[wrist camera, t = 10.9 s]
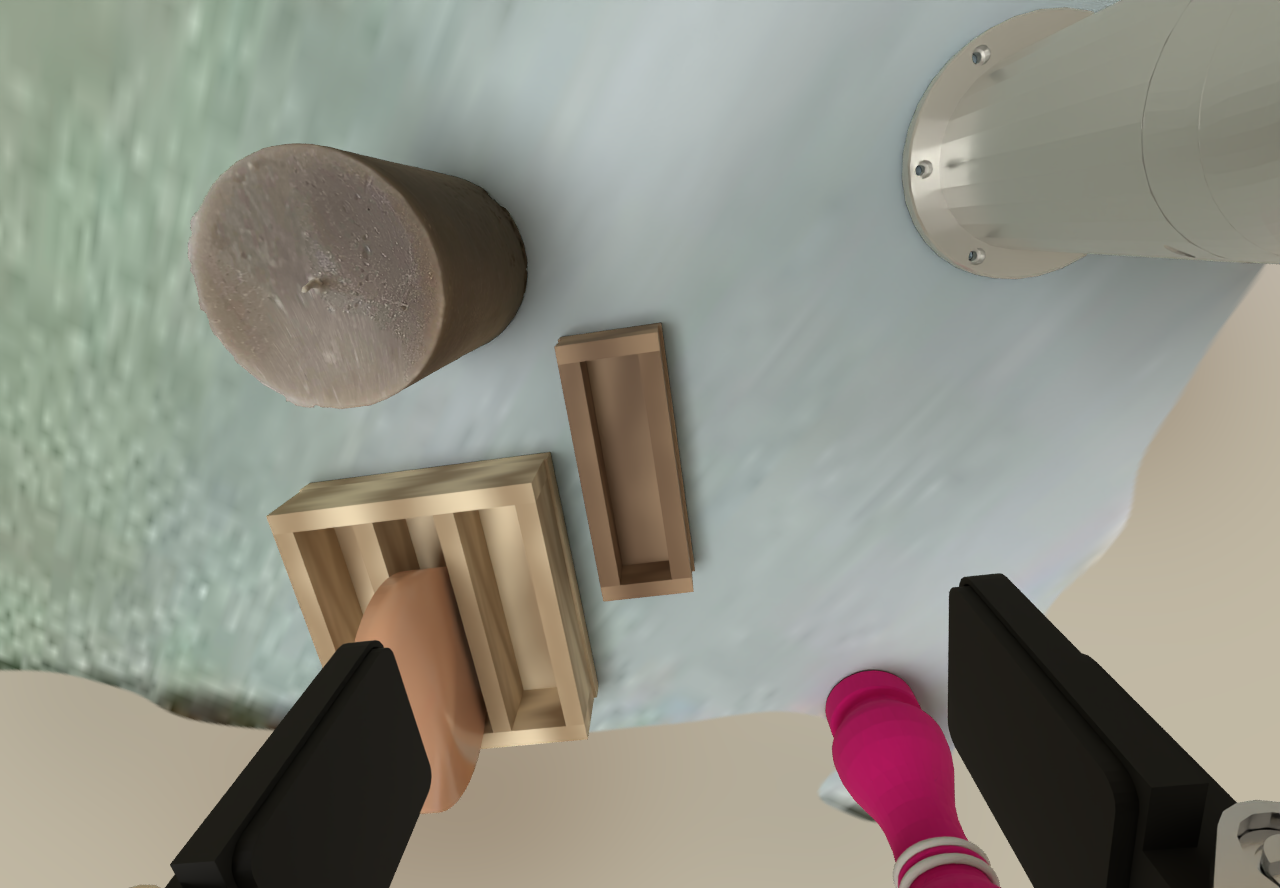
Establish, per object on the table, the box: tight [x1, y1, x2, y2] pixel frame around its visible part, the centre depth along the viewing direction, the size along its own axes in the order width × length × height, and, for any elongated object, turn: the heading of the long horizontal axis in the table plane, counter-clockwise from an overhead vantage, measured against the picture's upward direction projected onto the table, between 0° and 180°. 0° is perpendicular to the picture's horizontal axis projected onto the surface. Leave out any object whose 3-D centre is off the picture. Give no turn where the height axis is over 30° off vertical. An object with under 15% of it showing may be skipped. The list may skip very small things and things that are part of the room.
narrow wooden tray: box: [555, 323, 695, 601], centre depth 38 cm, size 6×16×3 cm, turn 9°
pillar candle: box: [188, 143, 527, 409], centre depth 29 cm, size 10×10×15 cm
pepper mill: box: [826, 670, 1001, 888], centre depth 35 cm, size 7×7×20 cm
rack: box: [266, 452, 598, 749], centre depth 41 cm, size 16×18×5 cm
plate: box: [355, 567, 487, 814], centre depth 36 cm, size 2×13×13 cm, turn 8°
